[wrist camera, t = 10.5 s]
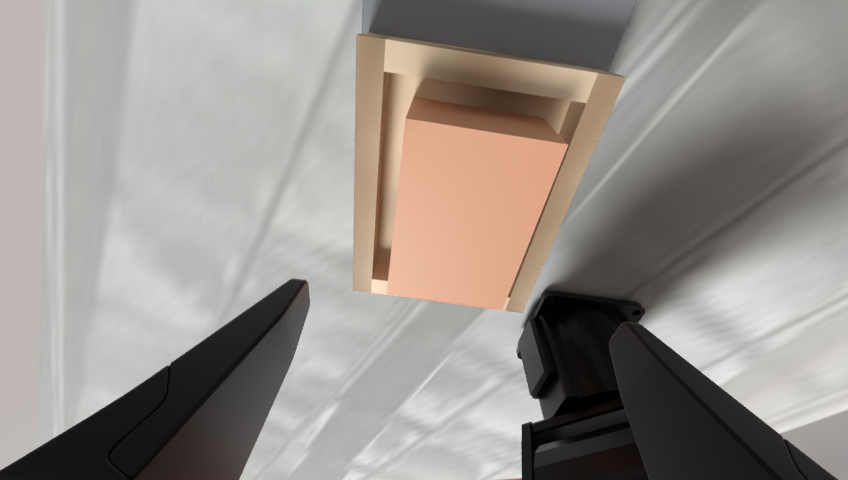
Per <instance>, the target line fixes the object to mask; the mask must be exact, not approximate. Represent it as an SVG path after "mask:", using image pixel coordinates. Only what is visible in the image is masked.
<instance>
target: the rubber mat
mask: <svg viewBox="0 0 848 480" xmlns="http://www.w3.org/2000/svg"><path fill="white" fill-rule="evenodd" d="M636 1H637V0H363V8H362V33H367V32H370V33H376V34H382V35H389V36H395V37H401V38H407V39H414V40H420V41H426V42H432V43H439V44H445V45H451V46H458V47H464V48H470V49H476V50H483V51H489V52H495V53H501V54H508V55H514V56H520V57H526V58H533V59H539V60H545V61H551V62H558V63H564V64H570V65H576V66H583V67H589V68H595V69H602V70H605V71H608V69H609V67H610V65H611V62H612V60H613V57H614V55H615V52H616V50H617V47H618V45H619V42H620V40H621V37H622V35H623V33H624V30H625V28H626V25H627V23H628V20H629V18H630V15H631V13H632V10H633V8H634V5H635V3H636Z"/></svg>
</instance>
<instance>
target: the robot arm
mask: <svg viewBox="0 0 848 480" xmlns="http://www.w3.org/2000/svg"><path fill="white" fill-rule="evenodd" d="M551 298H553V299H551ZM549 299H551V300H549ZM309 305H310V298H309V287H308V282H307V281H306V280H301V279H291V280H289V281H288V282H286V283H285V284H283V285H282V286H280V287H279V288H278V289H276V290H275V291H273V292H272V293H270V294H269V295H267V296H266V297H265V298H263V299H262V300H260V301H259V302H257V303H256V304H255V305H253V306H252V307H250V308H249V309H247V310H246V311H245V312H243V313H242V314H240V315H239V316H237V317H236V318H235V319H233V320H232V321H230V322H229V323H227V324H226V325H225V326H223V327H222V328H220V329H219V330H217V331H216V332H215V333H213V334H212V335H210V336H209V337H207V338H206V339H205V340H203V341H202V342H200V343H199V344H197V345H196V346H195V347H193V348H192V349H190V350H189V351H187V352H186V353H185V354H183V355H182V356H180V357H179V358H177V359H176V360H175V361H173V362H172V363H171V364H170V366H166V367H164V368H163V369H161V370H160V371H159V372H157V373H156V374H154V375H153V376H151V377H150V378H149V379H147V380H146V381H144V382H143V383H141V384H140V385H138V386H137V387H135V388H134V389H132V390H131V391H129V392H128V393H126V394H125V395H123V396H122V397H120V398H118V399H117V400H115V401H114V402H112V403H110V404H109V405H107V406H106V407H104V408H102V409H101V410H99V411H98V412H96V413H94V414H93V415H91V416H90V417H88V418H86V419H85V420H83V421H81V422H80V423H78V424H76V425H75V426H73V427H71V428H70V429H68V430H67V431H65V432H63V433H62V434H60V435H58V436H57V437H55V438H53V439H52V440H50V441H48V442H47V443H45V444H43V445H42V446H40V447H38V448H37V449H35V450H34V451H32V452H30V453H29V454H27V455H25V456H24V457H22V458H20V459H19V460H17V461H15V462H14V463H12V464H11V465H9V466H7V467H5V468H4V469H2V470H0V480H239V478H240V476H241V474H242V472H243V470H244V467H245V465H246V463H247V461H248V458H249V456H250V454H251V452H252V449H253V447H254V445H255V443H256V441H257V438H258V436H259V434H260V432H261V429H262V427H263V425H264V423H265V420H266V418H267V416H268V414H269V412H270V409H271V407H272V405H273V403H274V400H275V398H276V396H277V394H278V392H279V389H280V387H281V385H282V383H283V380H284V378H285V376H286V374H287V371H288V369H289V367H290V365H291V362H292V360H293V357H294V354H295V351H296V348H297V345H298V342H299V338H300V335H301V332H302V329H303V326H304V323H305V319H306V316H307V313H308V310H309ZM644 313H645V309H644V308H643V306H642V305H641V304H640V303H636V302H629V301H621V300H614V299H607V298H599V297H592V296H585V295H577V294H570V293H563V292H555V291H548V292H546V293H544V294H543V295H542V297H541V299H540V301H539V303H538V306H537V308H536V310H535V312H534V314H533V316H532V317H531V318H530V319H529V320H528V322H527V324H526V327H525V329H524V331H523V333H522V335H521V337H520V340H519V342H518V343H519V346H518V348H517V356H518V358H519V359H522V361H523V365H524V370H525V374H526V378H527V383H528V387H529V392H530V395H531V396H532V397H533V398H534V399H539V402H540V406H541V410H542V414H543V418H544V420H541V421H538V422H535V423H532V422H529V423H525V424H522V480H838V479H836V478H835V477H834V476H832V475H831V474H830V473H829V472H827V471H826V470H825V469H823V468H822V467H821V466H820V465H818V464H817V463H815V462H814V461H813V460H812V459H810V458H809V457H808V456H806V455H805V454H804V453H803V452H801V451H800V450H799V449H798V448H796V447H795V446H794V445H793V444H791V443H790V442H789V441H788V440H786V439H783V437H782V436H781V435H780V434H779V433H777V432H776V431H775V430H774V429H772V428H771V427H770V426H769V425H767V424H766V423H765V422H763V421H762V420H761V419H760V418H758V417H757V416H756V415H755V414H753V413H752V412H751V411H750V410H748V409H747V408H746V407H744V406H743V405H742V404H741V403H739V402H738V401H737V400H736V399H734V398H733V397H732V396H730V395H729V394H728V393H727V392H725V391H724V390H723V389H722V388H720V387H719V386H718V385H717V384H715V383H714V382H713V381H711V380H710V379H709V378H708V377H706V376H705V375H704V374H703V373H701V372H700V371H699V370H698V369H696V368H695V367H694V366H692V365H691V364H690V363H689V362H687V361H686V360H685V359H684V358H682V357H681V356H680V355H679V354H677V353H676V352H675V351H673V350H672V349H671V348H670V347H668V346H667V345H666V344H665V343H663V342H662V341H661V340H660V339H658V338H657V337H656V336H654V335H653V334H652V333H651V332H649V331H648V330H647V329H646V328H644V327H643V326H642V325H640V324H638V321H639V320H640V319H641V317H642V316H643V315H644Z"/></svg>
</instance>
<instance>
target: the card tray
mask: <svg viewBox="0 0 848 480" xmlns="http://www.w3.org/2000/svg"><path fill="white" fill-rule="evenodd" d="M625 78H626V77H623V76H620V75H617V74H614V73H611V72H608V71H605V70H602V69H595V68H589V67H583V66H576V65H570V64H564V63H558V62H551V61H545V60H539V59H533V58H526V57H520V56H514V55H508V54H501V53H495V52H489V51H483V50H476V49H470V48H464V47H458V46H451V45H445V44H439V43H432V42H426V41H420V40H414V39H407V38H401V37H395V36H389V35H382V34H376V33H370V32H367V33H362V34H357V38H356V110H355V182H354V254H353V290H355V291H362V292H370V293H377V294H385V295H389V294H387V285H388V276H389V267H390V257H391V248H392V239H393V229H394V220H395V211H396V201H397V192H398V183H399V174H400V164H401V155H402V146H403V136H404V127H405V118H406V115H407V113H408V110H409V108H410V105H411V102H412V100H413V97H418V98H424V99H430V100H436V101H442V102H448V103H454V104H460V105H467V106H473V107H479V108H485V109H491V110H497V111H503V112H509V113H515V114H521V115H527V116H534V117H540V118H543V119H544V120H545V121H546V122H547V123H548V124H549V125H550V126H551V127H552V128H553V129H554V130H555V131H556V132H557V133H558V134H559V135H560V136H561V138H562V139H563V140H564V141H565V142H566V143H567V144H568V147H567V149H566V152H565V154H564V157H563V159H562V162H561V164H560V167H559V169H558V172H557V174H556V177H555V179H554V182H553V184H552V187H551V189H550V192H549V194H548V197H547V199H546V202H545V204H544V207H543V209H542V212H541V214H540V217H539V219H538V222H537V224H536V227H535V230H534V232H533V235H532V237H531V240H530V242H529V245H528V247H527V250H526V252H525V255H524V257H523V260H522V262H521V265H520V267H519V270H518V272H517V275H516V277H515V280H514V282H513V285H512V287H511V290H510V292H509V295H508V297H507V300H506V302H505V305H504V307H503V310H505V311H512V312H520V313H523V311H524V309H525V306H526V304H527V302H528V299H529V297H530V295H531V293H532V290H533V288H534V286H535V284H536V281H537V279H538V277H539V274H540V272H541V270H542V268H543V265H544V263H545V261H546V258H547V256H548V254H549V252H550V249H551V247H552V245H553V242H554V240H555V238H556V236H557V233H558V231H559V229H560V227H561V224H562V222H563V220H564V217H565V215H566V213H567V211H568V208H569V206H570V204H571V201H572V199H573V197H574V195H575V192H576V190H577V188H578V185H579V183H580V181H581V179H582V176H583V174H584V172H585V169H586V167H587V165H588V163H589V160H590V158H591V156H592V154H593V151H594V149H595V147H596V144H597V142H598V140H599V138H600V135H601V133H602V131H603V128H604V126H605V124H606V122H607V119H608V117H609V115H610V112H611V110H612V108H613V106H614V103H615V101H616V99H617V97H618V94H619V92H620V90H621V87H622V85H623V83H624V81H625ZM392 296H397V295H392ZM400 297H404V296H400ZM407 298H411V297H407ZM415 299H418V298H415ZM422 300H425V299H422ZM430 301H432V300H430ZM437 302H439V301H437ZM445 303H446V302H445ZM452 304H453V303H452ZM460 305H461V304H460ZM467 306H468V305H467Z"/></svg>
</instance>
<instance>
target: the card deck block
mask: <svg viewBox="0 0 848 480" xmlns="http://www.w3.org/2000/svg"><path fill="white" fill-rule="evenodd" d="M567 147H568V144H567V143H566V142H565V141H564V140H563V139H562V138H561V136H560V135H559V134H558V133H557V132H556V131H555V130H554V129H553V128H552V127H551V126H550V125H549V124H548V123H547V122H546V121H545V120H544V119H543V118H540V117H534V116H527V115H521V114H515V113H509V112H503V111H497V110H491V109H485V108H479V107H473V106H467V105H460V104H454V103H448V102H442V101H436V100H430V99H424V98H418V97H413V100H412V102H411V105H410V108H409V110H408V113H407V115H406V118H405V127H404V136H403V146H402V155H401V164H400V174H399V183H398V192H397V201H396V211H395V220H394V229H393V239H392V248H391V257H390V267H389V276H388V285H387V294H389V295H397V296H404V297H411V298H418V299H425V300H432V301H439V302H446V303H453V304H461V305H468V306H475V307H482V308H489V309H496V310H503V307H504V305H505V302H506V300H507V297H508V295H509V292H510V290H511V287H512V285H513V282H514V280H515V277H516V275H517V272H518V270H519V267H520V265H521V262H522V260H523V257H524V255H525V252H526V250H527V247H528V245H529V242H530V240H531V237H532V235H533V232H534V230H535V227H536V224H537V222H538V219H539V217H540V214H541V212H542V209H543V207H544V204H545V202H546V199H547V197H548V194H549V192H550V189H551V187H552V184H553V182H554V179H555V177H556V174H557V172H558V169H559V167H560V164H561V162H562V159H563V157H564V154H565V152H566V149H567Z"/></svg>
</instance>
